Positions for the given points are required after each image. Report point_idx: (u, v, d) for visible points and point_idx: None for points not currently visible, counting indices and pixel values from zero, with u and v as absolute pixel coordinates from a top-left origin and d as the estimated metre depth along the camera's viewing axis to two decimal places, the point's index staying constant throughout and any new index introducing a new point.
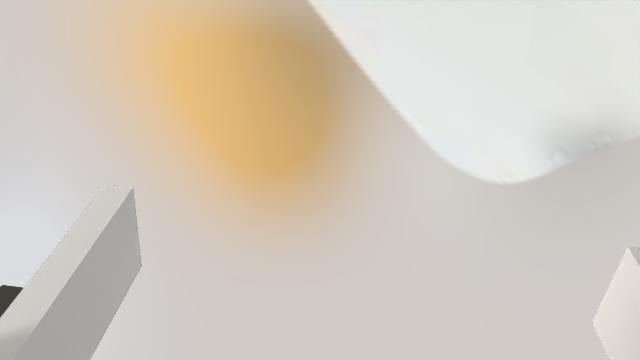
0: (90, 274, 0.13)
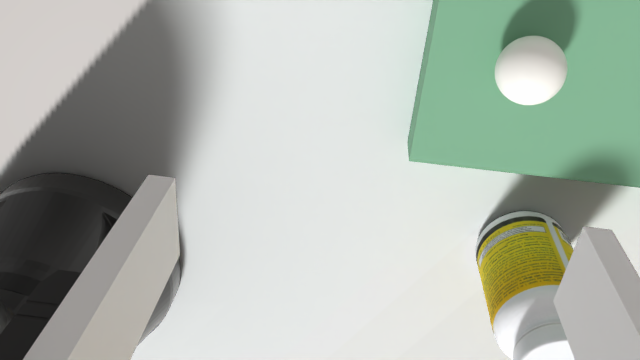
0: (141, 260, 0.13)
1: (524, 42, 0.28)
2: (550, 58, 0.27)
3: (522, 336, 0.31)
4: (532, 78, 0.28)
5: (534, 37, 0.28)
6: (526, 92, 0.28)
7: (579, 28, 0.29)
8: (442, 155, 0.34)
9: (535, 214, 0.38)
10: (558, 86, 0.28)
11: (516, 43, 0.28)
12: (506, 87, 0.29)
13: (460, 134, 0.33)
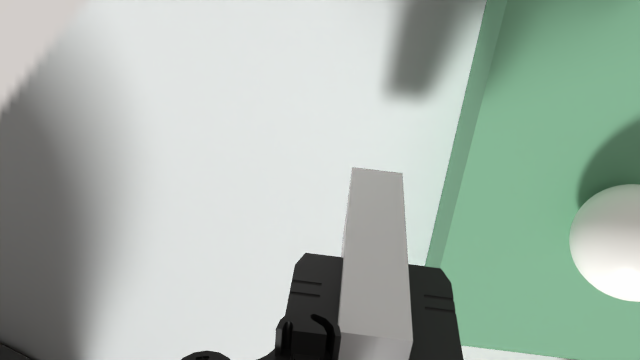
0: None
1: (629, 203, 0.16)
2: None
3: None
4: None
5: None
6: (633, 291, 0.16)
7: None
8: (473, 335, 0.22)
9: None
10: None
11: (613, 202, 0.16)
12: (594, 276, 0.17)
13: (503, 308, 0.21)
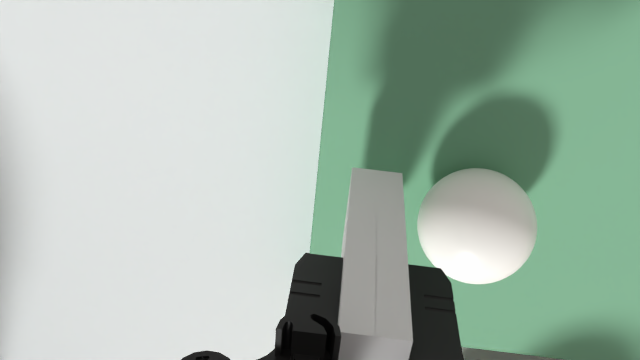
0: None
1: (462, 186, 0.16)
2: (505, 220, 0.16)
3: None
4: (474, 254, 0.16)
5: (480, 177, 0.16)
6: (466, 273, 0.16)
7: (558, 151, 0.18)
8: None
9: None
10: (521, 262, 0.16)
11: (449, 185, 0.16)
12: (433, 258, 0.17)
13: None
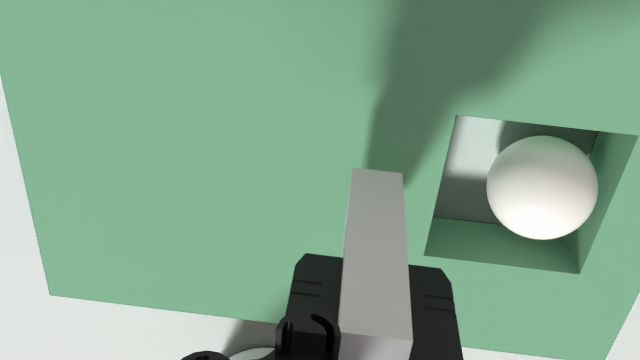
0: None
1: (565, 161, 0.18)
2: (590, 161, 0.19)
3: None
4: (596, 199, 0.18)
5: (557, 145, 0.18)
6: None
7: (232, 113, 0.18)
8: (94, 289, 0.22)
9: None
10: None
11: (558, 168, 0.18)
12: (568, 230, 0.18)
13: (109, 261, 0.22)
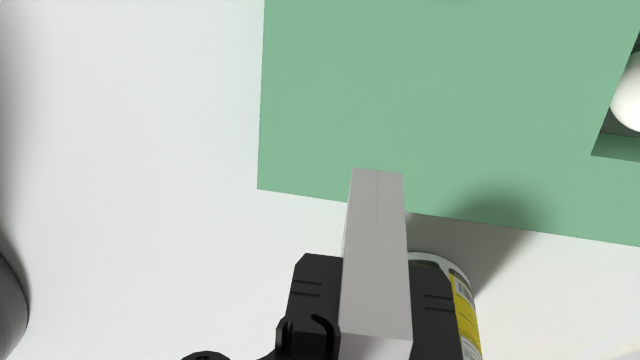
0: None
1: None
2: None
3: None
4: None
5: None
6: None
7: (451, 24, 0.22)
8: (296, 183, 0.27)
9: (429, 257, 0.30)
10: None
11: None
12: None
13: (316, 158, 0.26)
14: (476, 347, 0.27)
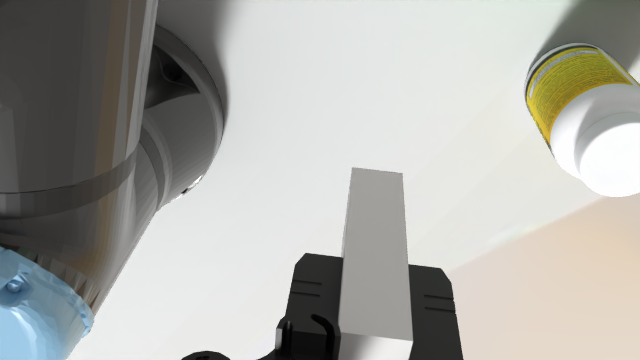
0: None
1: None
2: None
3: (584, 131, 0.31)
4: None
5: None
6: None
7: None
8: None
9: (586, 44, 0.38)
10: None
11: None
12: None
13: None
14: None
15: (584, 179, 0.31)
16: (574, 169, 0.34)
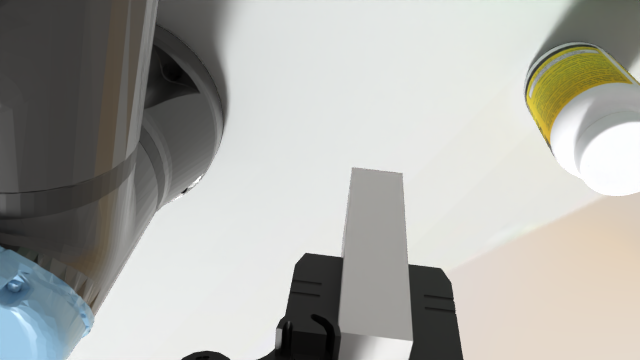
0: None
1: None
2: None
3: (584, 130, 0.31)
4: None
5: None
6: None
7: None
8: None
9: (586, 43, 0.38)
10: None
11: None
12: None
13: None
14: None
15: (584, 178, 0.31)
16: (574, 168, 0.34)
